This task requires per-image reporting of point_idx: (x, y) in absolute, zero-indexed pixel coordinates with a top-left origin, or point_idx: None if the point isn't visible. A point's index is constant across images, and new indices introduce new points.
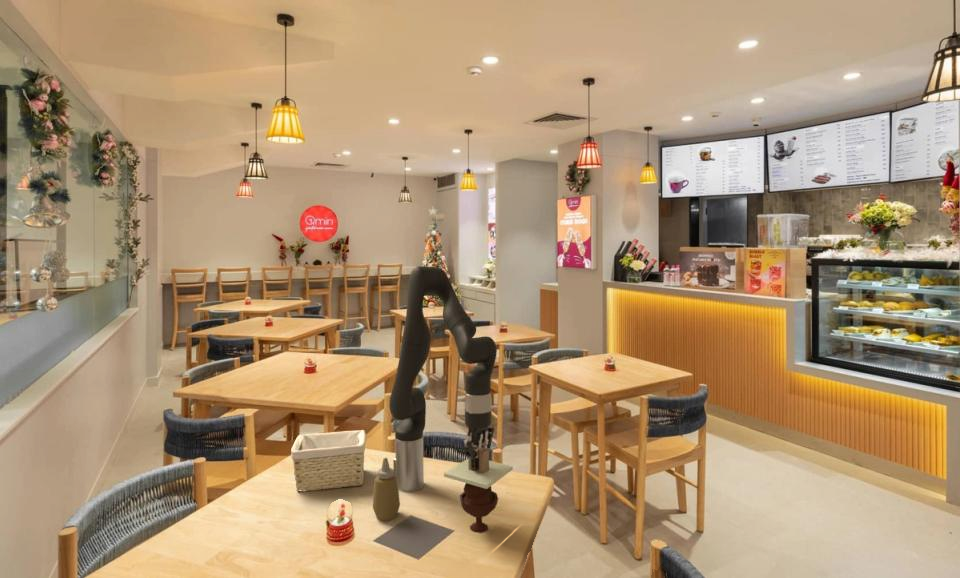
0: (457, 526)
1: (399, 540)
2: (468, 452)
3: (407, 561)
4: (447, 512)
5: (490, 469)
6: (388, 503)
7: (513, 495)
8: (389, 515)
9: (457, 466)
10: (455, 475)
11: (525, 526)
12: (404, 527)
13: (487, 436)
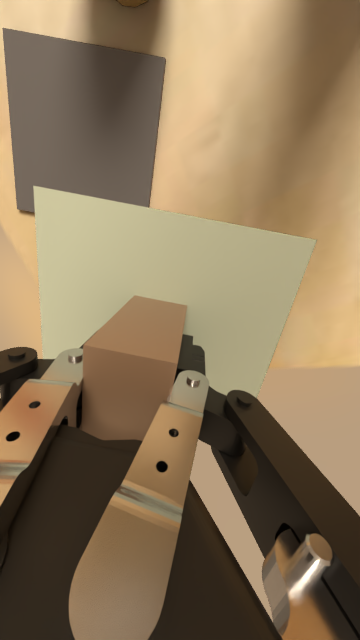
0: None
1: (45, 114)
2: (7, 377)
3: (5, 186)
4: (224, 169)
5: None
6: None
7: (355, 304)
8: None
9: (144, 220)
10: (47, 260)
11: None
12: (100, 84)
13: (265, 518)
